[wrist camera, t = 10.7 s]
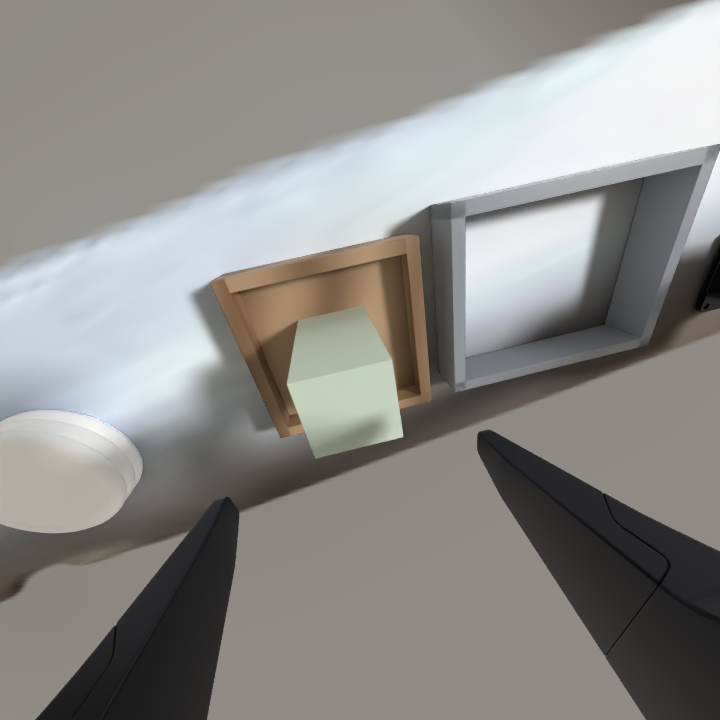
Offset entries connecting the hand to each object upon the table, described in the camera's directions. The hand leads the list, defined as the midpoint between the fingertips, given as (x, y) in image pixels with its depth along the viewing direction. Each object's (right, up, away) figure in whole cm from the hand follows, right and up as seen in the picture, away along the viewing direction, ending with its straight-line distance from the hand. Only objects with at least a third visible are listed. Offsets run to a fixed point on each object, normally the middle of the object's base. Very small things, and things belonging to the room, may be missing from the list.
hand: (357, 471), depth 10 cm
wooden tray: (-2, +6, +11) cm, 12 cm away
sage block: (-2, +5, +10) cm, 11 cm away
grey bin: (+13, +10, +11) cm, 20 cm away
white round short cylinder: (-23, -4, +13) cm, 27 cm away
